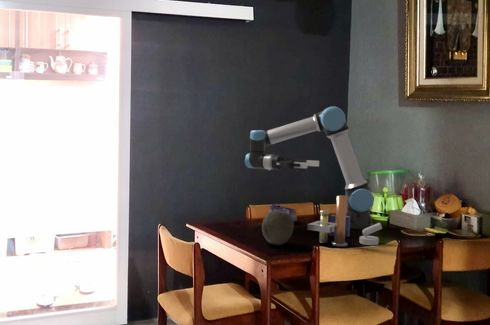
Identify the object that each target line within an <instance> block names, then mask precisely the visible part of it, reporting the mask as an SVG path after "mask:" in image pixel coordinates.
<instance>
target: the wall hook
mask: <svg viewBox="0 0 490 325" xmlns="http://www.w3.org/2000/svg"><path fill="white" fill-rule="evenodd" d="M382 229H383V226H382V224H381V223H380V222H377V223H375V224H372V226H370V227H368V228H365V229H362V235H361V236H359V239H358V240H359V241H358V242H359V243H360V244H361V245H366V246H378V245H379V244H380V241H379V240H380V238H379V237H378V236H373V235H371V234H374V233H375V232H377V231H380V230H382Z"/></svg>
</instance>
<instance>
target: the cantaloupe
mask: <svg viewBox="0 0 490 325" xmlns="http://www.w3.org/2000/svg"><path fill="white" fill-rule="evenodd" d="M294 224H295V223H294V222H293V219H292V218H291V216H290V215H289V214H288V213H286V212H283V211H271V212H269V211H268V212H267V214H265V216H264V217H263V220H262V223H261V232H262V236H263V237H264V238H265V240H266V241H267V242H268V243H269V244H270V245H273V246H277V247H278V246H282V245H284V244H285V243H287V242H288V241H289V239H290V238H291V237H292V235H293V232H294V227H295V225H294Z"/></svg>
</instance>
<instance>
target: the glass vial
mask: <svg viewBox="0 0 490 325" xmlns="http://www.w3.org/2000/svg"><path fill="white" fill-rule="evenodd" d="M330 212H331V211H330V210H329V209H319V215H320V217H319V218H320V219H319V221H320V225H326V226H327V225H328V222H329V216H330V215H331V213H330ZM328 236H329V233H327V232H320V231H319V238H318V239H319V243H320V244H327V243H328Z"/></svg>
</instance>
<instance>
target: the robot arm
mask: <svg viewBox="0 0 490 325" xmlns="http://www.w3.org/2000/svg"><path fill="white" fill-rule="evenodd" d="M317 131H318V132H325V136H326V138H328V139H329V140H330V141H331V143H332V147H333V149H334V153H335V156H336V158H337V161H338V164H339V166H340V170H341V172H342V176H343V177H344V181H345V184H346V185H345V187H344V190H345V193H346V195H347V202H346V216H349V217H350V229H355V230H357V229H358V230H364V229H365V228H368V227H370V226H372V225H373V221H372V217H371V216H372V215H371V213H370V209H371V208H372V207H373V205H374V201H375V200H374V199H375V198H374V195H373V193H372V191H371V190H372V186H371V184H370V183H369V182H368V181H367V179H364V177H363V175H362V172H361V169H360V165H359V162H358V160H357V158H356V154H355V152H354V150H353V149H354V148H353V146H352V143H351V141H350V137H349V134H348V133H349V131H350V128H349V125H348V122H347V119H346V114H345V111H343V110H342V108H340V107H338V106H329V107H326V108H325V109H324V110H322V111H320V112H318V113H314V114H313V115H312V116H311V117H307V118H303V119H300V120H298V121H294V122H291V123H288V124H284V125H282V126H279V127H278V126H277V127H275V128H270V129H269V130H266V131H265V130H263V129H258V130H257V129H256V130H255V129H254V130H251V131H250V132H249V133H250V134H249V142H250V143H249V144H250V146H249V152H248V153H247V154H245V159H244V164H245V166H246V167H247V168H248V169H254V170H255V169H256V170H267V171H271V170H274V171H282V170H283V169H284V168H287V169H288V168H289V169H291V170H294V169H308V167H320V160H309V159H308V158H306V159H294V158H293V159H292V158H284V157H283V155H281V154H269V153H267V154H266V151H265V149H266V147H269V146H271V145H274V144H277V143H280V142H284V141H286V140H290V139H294V138H298V137H300V136H303V135H308V134H310V133H314V132H317Z"/></svg>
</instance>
